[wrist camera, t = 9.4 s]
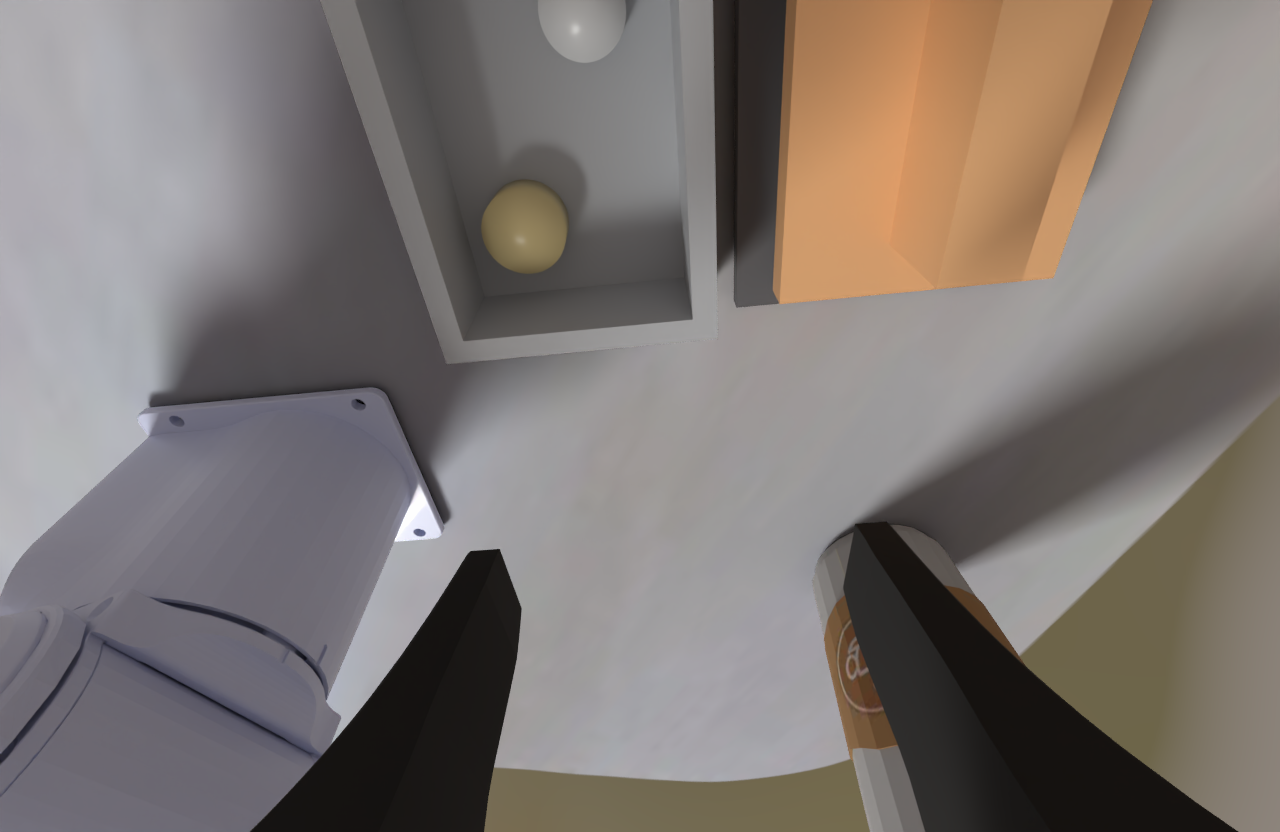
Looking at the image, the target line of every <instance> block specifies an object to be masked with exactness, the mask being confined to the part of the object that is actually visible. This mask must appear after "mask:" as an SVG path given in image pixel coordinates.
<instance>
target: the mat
mask: <svg viewBox="0 0 1280 832" xmlns="http://www.w3.org/2000/svg"><path fill="white" fill-rule="evenodd" d="M786 1H787V0H735V166H734V301H735V304H736V307H747V306H758V305H768V304H779V302H778V300H777V298H776V296H775V294H774V292H773V273H774V252H775V231H776V211H777V190H778V169H779V148H780V127H781V106H782V85H783V64H784V43H785V22H786Z"/></svg>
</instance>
